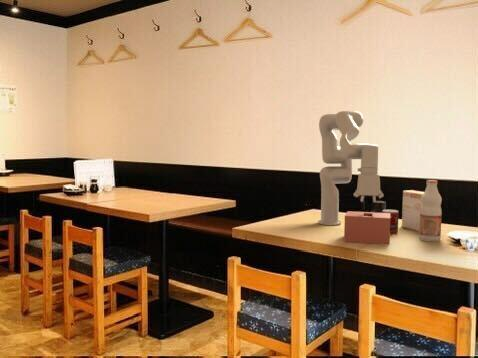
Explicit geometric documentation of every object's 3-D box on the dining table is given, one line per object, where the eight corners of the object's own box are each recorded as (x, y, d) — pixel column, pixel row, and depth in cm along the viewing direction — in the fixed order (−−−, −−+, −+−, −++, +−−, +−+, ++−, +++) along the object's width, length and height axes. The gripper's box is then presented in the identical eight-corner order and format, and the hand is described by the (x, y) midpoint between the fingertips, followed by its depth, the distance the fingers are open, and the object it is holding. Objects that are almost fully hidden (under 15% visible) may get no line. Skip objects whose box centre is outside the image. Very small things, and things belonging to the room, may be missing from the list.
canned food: (390, 234, 240) (390, 212, 238) (378, 231, 247) (379, 210, 246) (401, 232, 243) (402, 211, 242) (389, 230, 250) (390, 209, 249)
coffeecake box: (431, 230, 248) (432, 193, 246) (419, 231, 246) (421, 193, 244) (412, 225, 262) (413, 189, 261) (401, 226, 260) (402, 190, 258)
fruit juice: (414, 237, 232) (417, 179, 229) (432, 236, 234) (434, 179, 231) (426, 242, 222) (429, 181, 220) (444, 241, 225) (447, 181, 222)
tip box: (346, 235, 237) (347, 211, 235) (389, 238, 231) (390, 213, 229) (344, 241, 223) (344, 215, 222) (389, 244, 217) (390, 218, 216)
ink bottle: (380, 225, 263) (381, 203, 262) (366, 222, 270) (367, 201, 269) (390, 223, 269) (391, 201, 268) (377, 220, 276) (377, 200, 275)
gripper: (350, 171, 223) (349, 210, 225) (387, 172, 218) (386, 212, 220) (351, 170, 230) (350, 208, 232) (387, 170, 225) (386, 209, 227)
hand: (368, 209), depth 226 cm, fingers open, 3 cm apart
